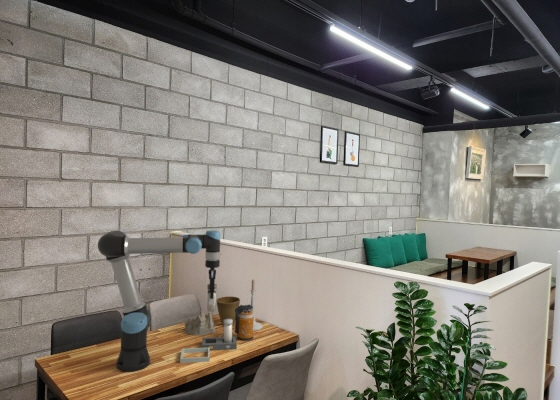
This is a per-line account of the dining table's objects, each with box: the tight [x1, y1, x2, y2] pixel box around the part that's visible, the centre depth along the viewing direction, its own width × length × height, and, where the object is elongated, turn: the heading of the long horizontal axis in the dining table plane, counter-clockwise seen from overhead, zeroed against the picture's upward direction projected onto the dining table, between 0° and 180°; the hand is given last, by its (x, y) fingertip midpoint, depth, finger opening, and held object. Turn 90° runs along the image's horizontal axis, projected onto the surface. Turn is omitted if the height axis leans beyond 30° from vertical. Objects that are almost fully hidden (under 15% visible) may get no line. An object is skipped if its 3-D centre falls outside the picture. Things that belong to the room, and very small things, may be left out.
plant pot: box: [216, 296, 241, 327], centre depth 241 cm, size 15×15×16 cm
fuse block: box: [201, 336, 238, 351], centre depth 204 cm, size 18×10×4 cm, turn 100°
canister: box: [233, 304, 254, 342], centre depth 216 cm, size 9×11×20 cm
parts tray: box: [179, 347, 211, 365], centre depth 190 cm, size 14×12×3 cm
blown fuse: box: [206, 283, 217, 313], centre depth 203 cm, size 5×5×14 cm
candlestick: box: [250, 279, 263, 332], centre depth 237 cm, size 13×13×30 cm
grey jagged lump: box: [184, 310, 217, 336], centre depth 227 cm, size 16×16×15 cm
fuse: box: [223, 319, 233, 342], centre depth 205 cm, size 5×5×14 cm
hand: (211, 302), depth 203 cm, fingers closed on blown fuse, 4 cm apart
